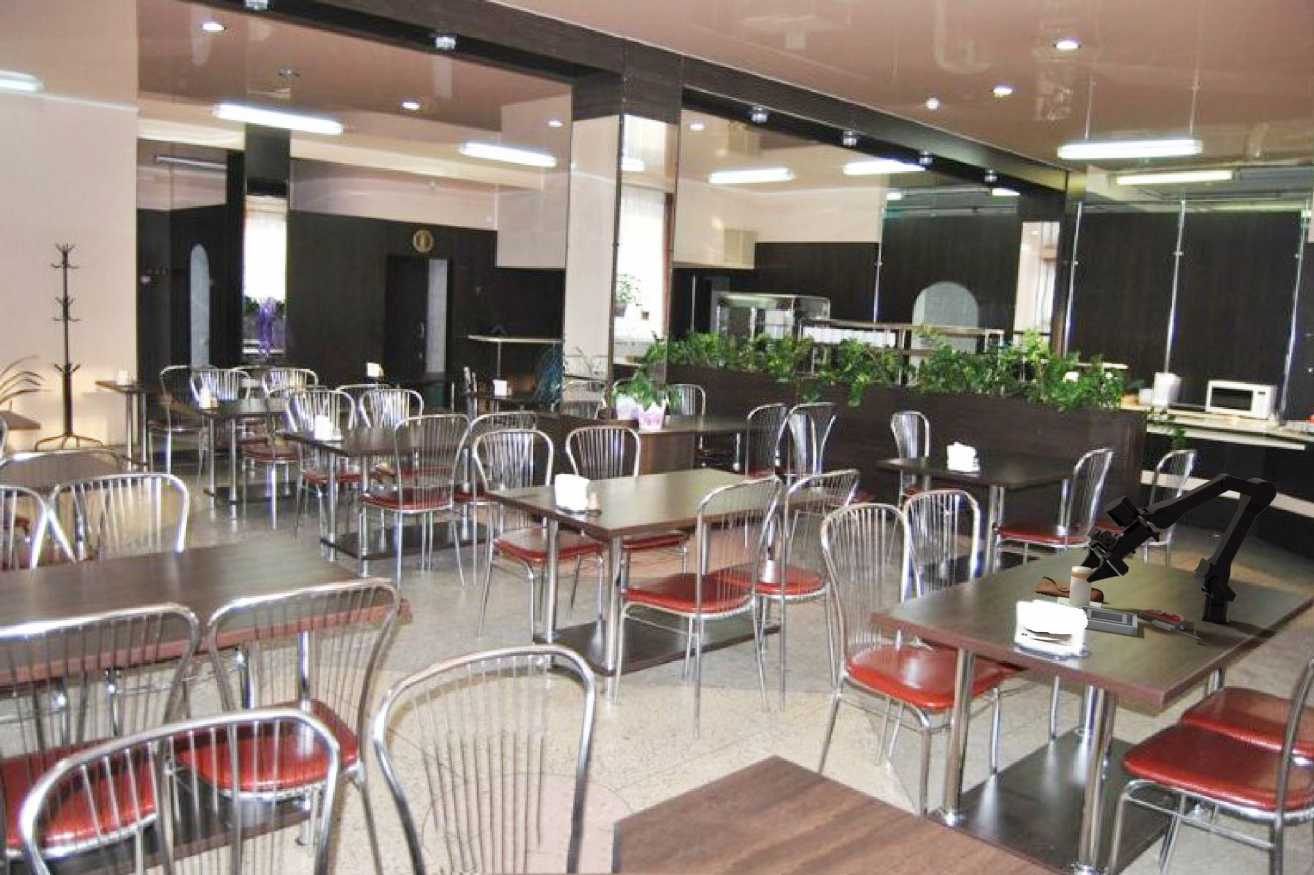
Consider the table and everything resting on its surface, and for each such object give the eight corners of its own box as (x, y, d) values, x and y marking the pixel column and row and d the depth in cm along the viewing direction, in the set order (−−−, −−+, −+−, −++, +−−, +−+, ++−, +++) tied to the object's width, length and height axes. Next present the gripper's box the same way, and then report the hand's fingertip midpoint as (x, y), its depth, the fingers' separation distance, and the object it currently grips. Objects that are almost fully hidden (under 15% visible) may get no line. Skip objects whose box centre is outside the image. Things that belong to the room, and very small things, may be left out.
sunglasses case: (1028, 591, 286) (1035, 570, 287) (1036, 600, 290) (1043, 579, 292) (1092, 606, 273) (1099, 584, 275) (1099, 615, 278) (1106, 593, 279)
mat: (1058, 600, 278) (1058, 596, 278) (1101, 606, 273) (1101, 603, 273) (1055, 610, 268) (1055, 606, 268) (1100, 617, 263) (1100, 613, 263)
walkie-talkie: (1127, 621, 261) (1197, 646, 243) (1129, 605, 261) (1199, 628, 243) (1150, 618, 265) (1221, 642, 247) (1152, 602, 265) (1223, 625, 247)
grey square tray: (1077, 616, 263) (1078, 604, 263) (1135, 625, 257) (1137, 613, 257) (1074, 630, 251) (1075, 618, 250) (1136, 640, 245) (1137, 628, 244)
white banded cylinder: (1075, 601, 274) (1078, 565, 273) (1093, 605, 270) (1097, 569, 269) (1064, 603, 271) (1068, 567, 270) (1083, 608, 267) (1086, 572, 265)
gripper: (1098, 510, 276) (1053, 547, 279) (1120, 524, 257) (1071, 563, 260) (1126, 540, 276) (1080, 576, 278) (1149, 556, 257) (1100, 595, 260)
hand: (1082, 577), depth 269 cm, fingers open, 9 cm apart
